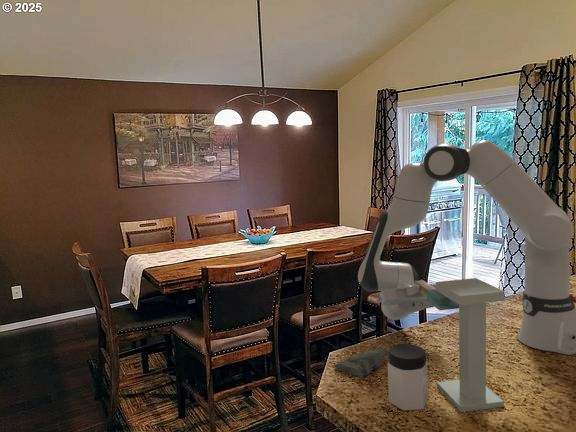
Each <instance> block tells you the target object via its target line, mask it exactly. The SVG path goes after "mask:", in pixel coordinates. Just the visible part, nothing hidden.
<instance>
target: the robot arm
mask: <svg viewBox="0 0 576 432" xmlns="http://www.w3.org/2000/svg"><path fill="white" fill-rule="evenodd" d="M465 174H466V175H469V176H471V177H472V178H473V179H474V180H475V181H476V182H477V183H478V184H479V185H480V186H481V187H482V188H483V189H484V191H486V193H487V194H488V195H489V196H490V197H491V198H492V199H493V201H495V202H496V203H497V205H498V206H500V208H501V209H502V210H503V211H504V212H505V214H506V215H507V217H509V219H510V220H511V221H512V223H513V224H514V225H515V226H516V227H517V228H518V230H519V231H520V232H521V233H522V234H523V236H524V290H523V291H522V309H523V310H522V311H523V312H522V321H521V324H520V329H519V330H518V331H519V332H518V335H517V340H518V341H519V342H520V343H521V344H523V345H525V346H528V347H531V348H533V349H536V350H540V351H546V352H554V353H558V354H562V355H567V356H572V355H575V354H576V305H575V303H576V295H574V296H573V295H572V294H570V289H571V288H570V286H571V263H570V262H571V261H570V242H571V240H572V239H573V236H574V225H573V221H572V220H571V219H570V217H569V216H568V215H567V212H566V211H564V209H562V208H561V207H559V206H558V205H557V204H556V203H555V202H554V201H553V199H552V198H550V196H549V195H548V194H547V193H546V192H545V191H544V190H543V189H542V188H541V187H540V186H539V185H538V183H536V181H535V180H534V179H533V178H532V177H531V176H530V175H529V174H528V173H527V172H526V171H525V169H523V168H522V167H521V166H520V164H518V163H517V161H515V160H514V159H513V157H511V155H509V154H508V153H507V152H506V151H504V150H503V149H502V148H501V146H499V145H497V144H495V143H494V142H493V141H491V140H488V139H486V140H485V139H484V140H480V141H476V142H474V143H473V144H471V145H470V146H469V147H468V148H463V147H459V146H458V145H456V144H453V143H449V142H445V143H439V144H436V145H434V146H432V147H431V148H430V149H428V150H427V152H426V153H425V155H424V157H423V162H410V163H407V164H405V165H404V166H402V168H401V169H400V171H399V174H398V177H397V179H396V184H395V188H394V191H393V198H392V200H391V203H390V204H389V207H388V208H387V209H386V210H385V211H383V212H381V213H380V215H379V217H378V218H377V220H376V223H375V226H374V229H373V231H372V234H371V237H370V240H369V243H368V246H367V248H366V252H365V255H364V257H363V259H362V262H361V264H360V267H359V270H358V272H357V274H358V275H357V281H358V283H359V285H360V286H361V287H362V288H363V289H364V290H365V291H366V292H378V291H379V292H380V293H379V297H377V298H376V301H375V302H376V303H380V304H381V306H380V307H381V311H382V313H383V314H384V316H386V318H388V319H390V320H395V321H398V320H402V319H405V318H407V317H409V316H411V315H412V314H414V313H417V312H420V311H422V310H426V309H430V308H435V307H434V306H433V305H431V304H430V303H428V302H427V297H425V296H424V295H422V294H421V293H420V292H421V291H422V290H421V286H420V285H415V284H414V281H419V275H418V272H417V271H416V270H415V268H414V266H413V265H411V264H410V263H407V262H399V261H384V260H380V258H381V255H382V252H383V250H384V247H385V243H386V241H387V239H388V238H389V236H392V234H394V233H396V232H399V231H403V230H406V229H410V228H413V227H416V226H417V225H419V224H420V223H422V221H424V220H425V218H426V217H427V214H428V211H429V208H430V203H431V196H432V191H433V187H434V185H435V184H436V183H437V182H447V181H453V180H456V179H457V178H458V177H459V176H462V175H465ZM429 284H430V285H431V286H433V287H435V288H436V283H429Z"/></svg>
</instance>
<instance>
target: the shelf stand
mask: <svg viewBox="0 0 576 432" xmlns="http://www.w3.org/2000/svg"><path fill="white" fill-rule="evenodd" d="M435 284H436V291H438V292H439V293H441V294H443V295H444V296H446V297H447V298H449V299H451V300H452V301H454V302H456V303H457V304H459V308H458V332H459V334H458V338H459V339H458V341H459V342H458V346H459V347H458V348H459V349H458V351H459V353H458V355H459V357H458V358H459V359H458V360H459V366H458V367H459V369H458V370H459V377H458V378H459V379H453V380H452V379H451V380H445V381H437V382H436V388H438V390H439V391H440V392H441V393H442V394H443V395H444V397H446V398H447V399H448V400H449V402H451V404H454V405H455V406H456V407H457V408H456V407H455V406H454V405H453V406H454V407H455V408H456V409H457V410H458V411H459V412H460V413H467V412H466V411H468V412H473V411H480V410H488V409H495V408H502V407H504V406H505V401H504V400H503V399H502V398H500V397H499V396H498V394H496V393H495V392H494V391H493V390H492V389H490V388H489V387H488V386H487V378H486V377H487V341H486V340H487V303H495V302H505V299H506V297H505V294H506V293H505V292H506V291H504V290H503V289H500V288H498V287H496V286H494V285H491V284H489V283H487V282H485V281H483V280H481V279H479V278H478V277H477V278H476V277H471V278H463V279H453V280H442V281H435Z"/></svg>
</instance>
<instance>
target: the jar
mask: <svg viewBox="0 0 576 432" xmlns="http://www.w3.org/2000/svg"><path fill="white" fill-rule="evenodd" d="M428 391H429V390H428V361H427V353H426V350H425V349H424V348H422V347H421V346H419V345H415V344H411V343H399V344H395V345H392V346H391V347H390V348H388V362H387V393H388V402H389V403H390V404H392V405H394V406H395V407H397V408H398V409H400V410H401V411H417V410H424V409H425V407H426V404H427V401H428V399H429V398H428V393H429V392H428Z"/></svg>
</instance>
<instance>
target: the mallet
mask: <svg viewBox="0 0 576 432" xmlns="http://www.w3.org/2000/svg"><path fill="white" fill-rule="evenodd" d="M414 284H415V285H420V286H421V290H422V291H421V292H420V293H421V294H422V295H424V296H425V297H427V302H428V303H430V304H431V305H433V306H434V307H433V308H436V309H437V310H439V311H446V310H447V311H448V310H455V309H456V310H457V309H458V310H459V304H457V303H456V302H454V301H452V300H451V299H449V298H447V297H446V296H444V295H443V294H441V293H439V292H438V291H436V288H435V287H433V286H431V285H430V284H431V283H428V282H426V281H425V280H423V279H419V280H418V281H414Z"/></svg>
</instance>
